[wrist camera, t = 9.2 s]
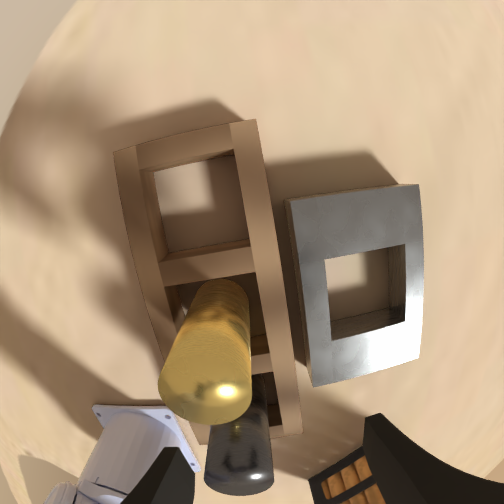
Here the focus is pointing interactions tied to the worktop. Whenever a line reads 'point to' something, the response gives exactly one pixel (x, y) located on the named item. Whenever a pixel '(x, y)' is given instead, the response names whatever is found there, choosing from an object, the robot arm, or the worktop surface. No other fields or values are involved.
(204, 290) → the brass round bar
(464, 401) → the worktop surface
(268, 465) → the black round bar
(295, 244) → the steel socket
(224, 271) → the walnut rack
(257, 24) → the worktop surface
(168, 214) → the worktop surface
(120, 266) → the worktop surface
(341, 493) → the ammunition clip
